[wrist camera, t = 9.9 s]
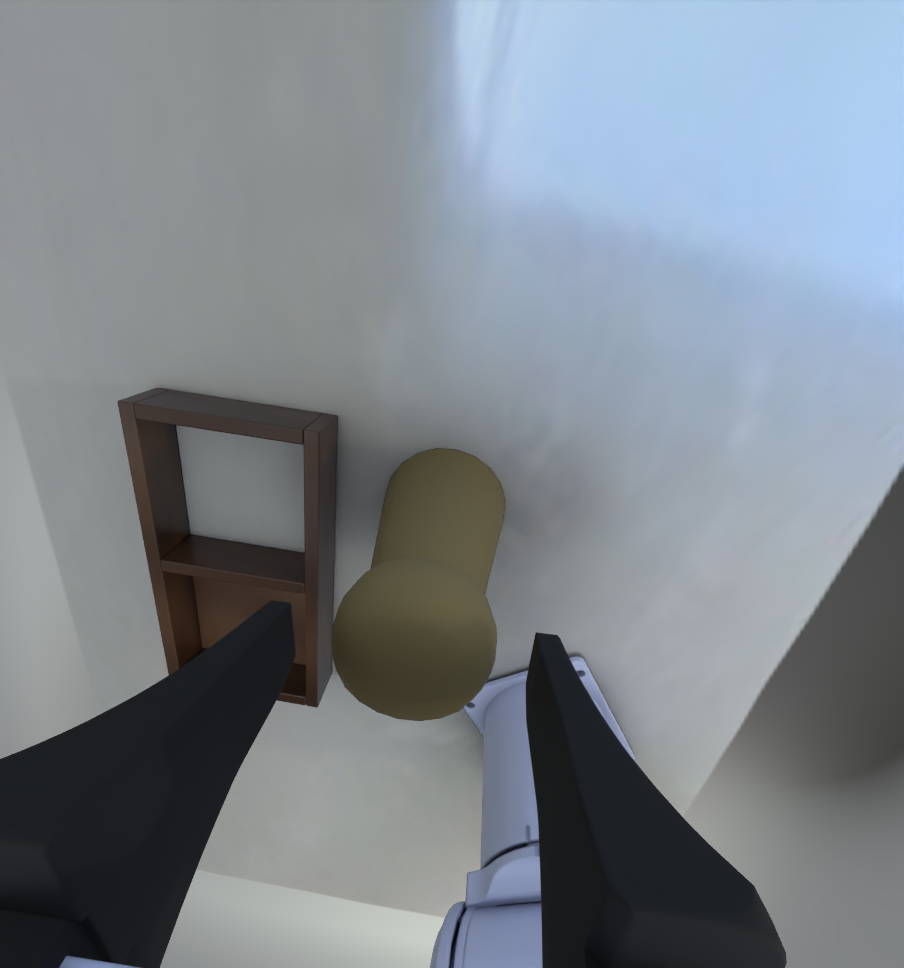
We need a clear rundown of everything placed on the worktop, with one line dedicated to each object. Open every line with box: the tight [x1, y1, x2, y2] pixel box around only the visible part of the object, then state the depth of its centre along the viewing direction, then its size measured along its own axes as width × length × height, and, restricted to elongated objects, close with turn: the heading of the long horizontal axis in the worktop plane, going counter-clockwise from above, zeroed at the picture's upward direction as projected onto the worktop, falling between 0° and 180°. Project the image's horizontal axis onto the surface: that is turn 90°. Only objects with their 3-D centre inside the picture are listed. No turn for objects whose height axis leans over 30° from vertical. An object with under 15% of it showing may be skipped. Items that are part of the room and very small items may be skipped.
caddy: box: [118, 388, 338, 707], centre depth 24 cm, size 17×9×2 cm, turn 173°
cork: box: [331, 448, 505, 721], centre depth 18 cm, size 6×6×11 cm
